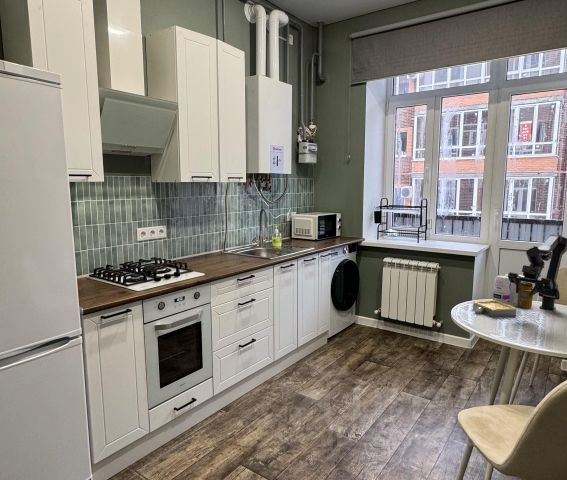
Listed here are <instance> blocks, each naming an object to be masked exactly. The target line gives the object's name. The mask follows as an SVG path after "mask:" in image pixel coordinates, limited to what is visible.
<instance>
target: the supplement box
mask: <svg viewBox="0 0 567 480" xmlns="http://www.w3.org/2000/svg"><path fill="white" fill-rule="evenodd" d="M508 274H509V273H506V274H505V273H504V275H503V276H508ZM518 275H519V276H521V277H524V276H523V274H519V273H518ZM521 282H525V281H521ZM527 283H529V282H527ZM517 301H518V293H517V294H516V284H515V283H511V290H510V299H509V303H511V304H517Z"/></svg>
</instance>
